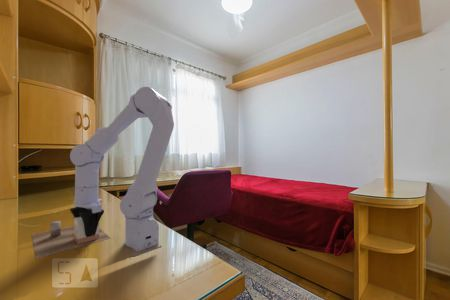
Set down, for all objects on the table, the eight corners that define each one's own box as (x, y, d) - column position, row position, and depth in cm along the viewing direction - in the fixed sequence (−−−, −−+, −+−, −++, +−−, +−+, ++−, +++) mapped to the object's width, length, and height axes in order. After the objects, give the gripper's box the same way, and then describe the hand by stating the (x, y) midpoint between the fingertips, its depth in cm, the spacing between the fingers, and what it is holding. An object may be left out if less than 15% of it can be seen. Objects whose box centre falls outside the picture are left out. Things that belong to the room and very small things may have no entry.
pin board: (110, 242, 59) (111, 224, 59) (35, 263, 47) (36, 241, 47) (92, 225, 72) (93, 211, 73) (31, 238, 61) (31, 221, 61)
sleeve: (98, 238, 59) (99, 217, 59) (77, 243, 55) (77, 221, 55) (94, 233, 62) (94, 214, 62) (73, 238, 58) (74, 217, 58)
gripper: (113, 187, 58) (112, 234, 57) (92, 182, 66) (91, 224, 66) (84, 190, 52) (84, 243, 52) (66, 185, 61) (65, 230, 60)
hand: (86, 233), depth 58 cm, fingers closed on sleeve, 5 cm apart
